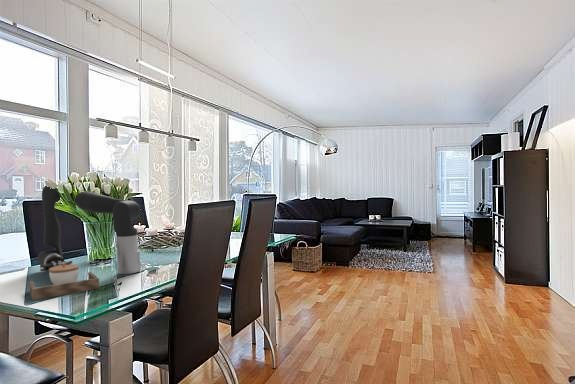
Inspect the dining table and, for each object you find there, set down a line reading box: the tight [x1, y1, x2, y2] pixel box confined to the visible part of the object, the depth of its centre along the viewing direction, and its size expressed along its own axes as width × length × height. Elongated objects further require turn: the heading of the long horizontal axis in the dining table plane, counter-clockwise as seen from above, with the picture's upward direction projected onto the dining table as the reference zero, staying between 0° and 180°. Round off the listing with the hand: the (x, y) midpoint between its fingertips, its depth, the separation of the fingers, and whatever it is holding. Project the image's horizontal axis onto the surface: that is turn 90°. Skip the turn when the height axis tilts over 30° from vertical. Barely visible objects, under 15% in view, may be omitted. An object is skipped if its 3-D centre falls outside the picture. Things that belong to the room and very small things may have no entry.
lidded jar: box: [48, 263, 80, 285], centre depth 164 cm, size 11×11×9 cm
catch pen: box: [28, 271, 100, 301], centre depth 158 cm, size 22×15×4 cm
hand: (59, 269), depth 167 cm, fingers closed
